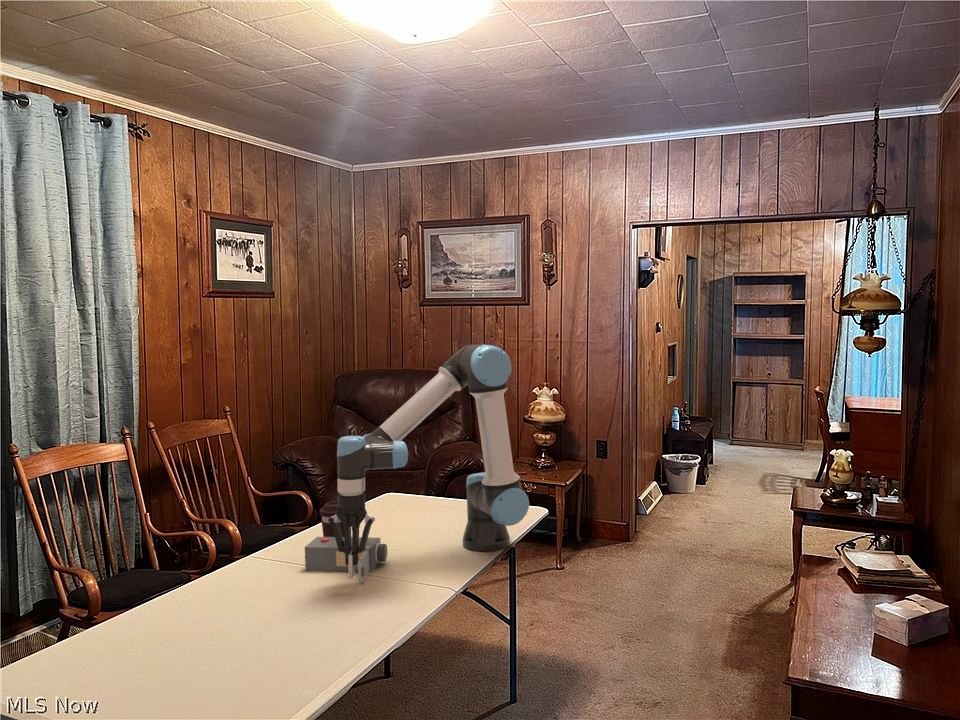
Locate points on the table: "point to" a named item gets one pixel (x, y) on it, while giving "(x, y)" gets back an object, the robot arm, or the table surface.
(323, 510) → the coffee cup
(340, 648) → the table surface
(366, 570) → the side door
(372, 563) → the camera box
